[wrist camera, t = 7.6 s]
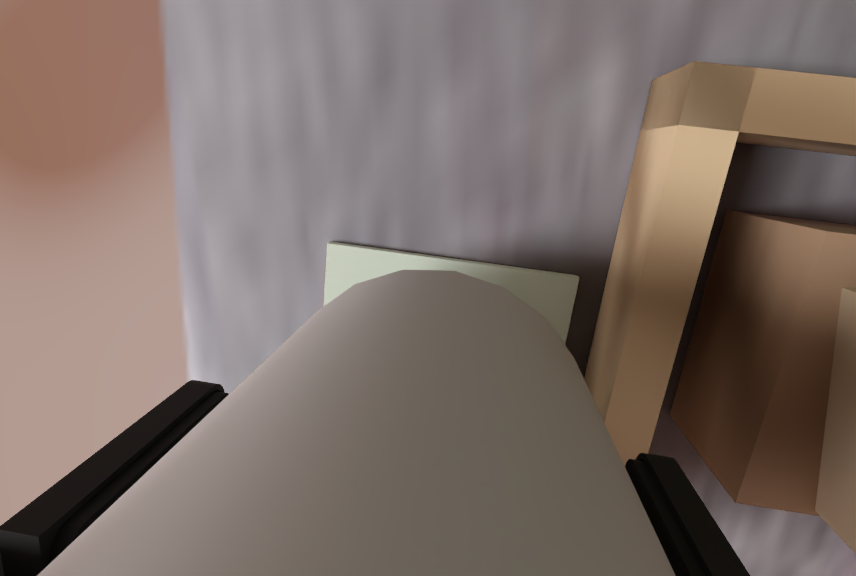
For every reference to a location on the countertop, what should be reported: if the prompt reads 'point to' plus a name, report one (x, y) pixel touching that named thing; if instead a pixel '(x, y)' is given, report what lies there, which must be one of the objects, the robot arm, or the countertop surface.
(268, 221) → the countertop surface
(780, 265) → the offcut large
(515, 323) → the can
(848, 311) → the offcut small
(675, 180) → the frame
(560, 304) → the mat
